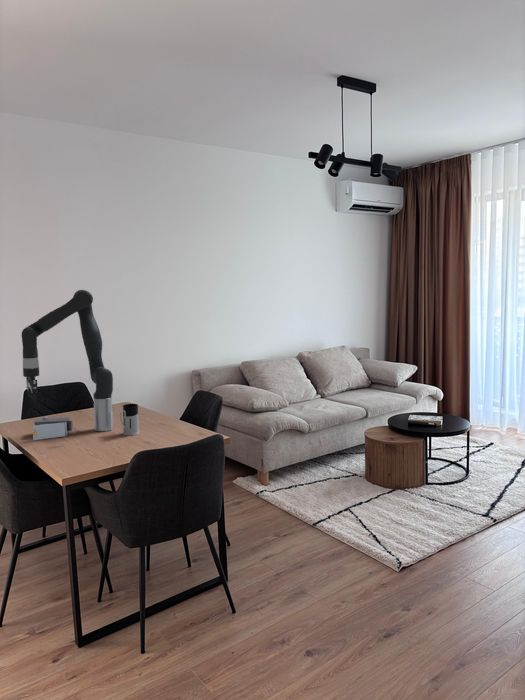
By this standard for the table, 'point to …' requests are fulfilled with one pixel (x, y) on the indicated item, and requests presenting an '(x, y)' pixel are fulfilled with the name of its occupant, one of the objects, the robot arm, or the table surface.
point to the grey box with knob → (55, 420)
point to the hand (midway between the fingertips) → (32, 398)
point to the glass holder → (130, 419)
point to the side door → (49, 431)
